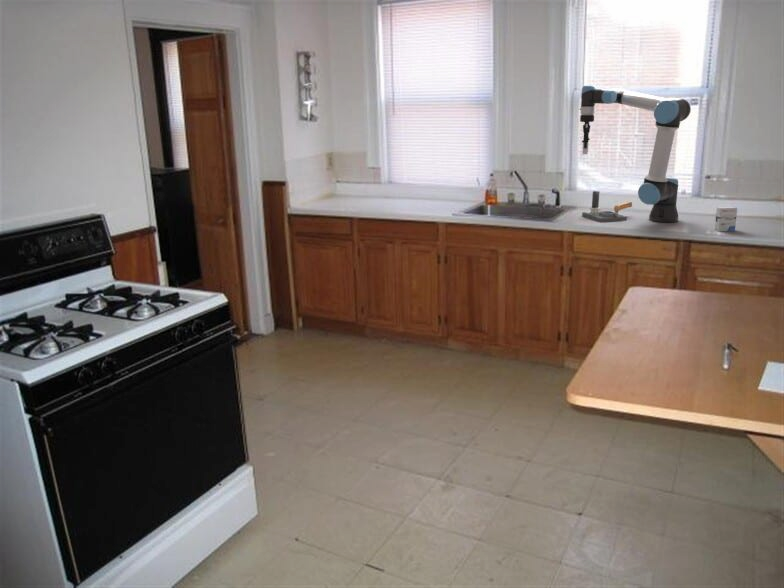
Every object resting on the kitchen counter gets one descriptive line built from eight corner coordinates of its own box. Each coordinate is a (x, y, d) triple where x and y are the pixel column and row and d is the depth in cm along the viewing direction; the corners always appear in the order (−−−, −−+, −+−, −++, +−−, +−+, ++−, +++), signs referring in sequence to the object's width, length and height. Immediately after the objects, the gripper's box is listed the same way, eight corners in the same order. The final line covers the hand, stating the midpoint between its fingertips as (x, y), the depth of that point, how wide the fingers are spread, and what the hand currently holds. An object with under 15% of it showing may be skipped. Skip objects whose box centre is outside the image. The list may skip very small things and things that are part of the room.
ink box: (730, 229, 362) (733, 206, 359) (735, 231, 358) (738, 207, 354) (713, 229, 362) (716, 206, 359) (718, 231, 357) (721, 208, 354)
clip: (617, 211, 387) (618, 206, 386) (613, 210, 389) (613, 205, 388) (632, 206, 399) (632, 202, 398) (627, 206, 401) (628, 201, 400)
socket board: (626, 220, 390) (627, 211, 388) (600, 222, 386) (600, 212, 385) (607, 214, 408) (607, 205, 407) (582, 215, 405) (582, 207, 403)
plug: (602, 213, 398) (603, 192, 395) (592, 213, 397) (594, 192, 394) (596, 211, 404) (598, 190, 401) (587, 212, 403) (588, 191, 399)
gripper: (581, 113, 407) (578, 150, 414) (579, 115, 384) (577, 155, 391) (594, 113, 405) (592, 151, 412) (594, 115, 382) (591, 155, 389)
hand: (585, 153), depth 401 cm, fingers open, 13 cm apart
